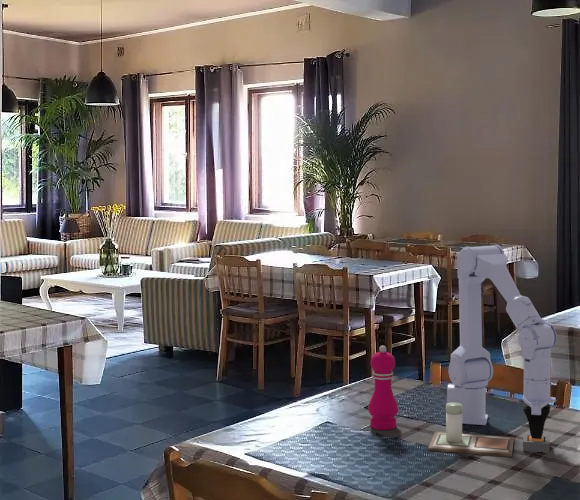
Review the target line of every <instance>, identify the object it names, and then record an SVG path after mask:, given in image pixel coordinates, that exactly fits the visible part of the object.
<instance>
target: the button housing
mask: <svg viewBox="0 0 580 500" xmlns="http://www.w3.org/2000/svg"><path fill="white" fill-rule="evenodd" d="M529 436H531V434H530V433H527V434H526V433H524V434H523V438H522V452H524V451H527V452H529V453H537V452H543V453H542V454H550V440H551V439H550V435H543V434H542V437H544V442H537V441H529Z"/></svg>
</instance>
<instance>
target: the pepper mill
mask: <svg viewBox="0 0 580 500" xmlns="http://www.w3.org/2000/svg"><path fill="white" fill-rule="evenodd" d="M369 364H370V366H371V368H372V370H373V371H372V378H373V379H374V390H373V394H372V395H371V397H370V400H369V403H368V413H369V415H370V416H371V418H370V424H369V425H370V427H371V428H372V429H375V430H379V431H388V430H389V431H390V430H393V429H395V428H396V427H397V418H395V417H396V415H397V414H398V413H399V405H398V402H397V399H396V398H395V395H394V393H393V392H394V391H393V389H392V379H393V378H394V372H393V370H394V368H395V366H396V360H395V356H394V355H393V354H392V353H391V352H389V351H387V347H386V346H385V345H380V346H379V348H378V352H375V353H374V354H373V355H372V356H371V359H370V363H369Z"/></svg>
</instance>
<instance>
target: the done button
mask: <svg viewBox="0 0 580 500" xmlns="http://www.w3.org/2000/svg"><path fill="white" fill-rule="evenodd" d="M529 441H537V442H544V437H542V438H541V439H535V438H531V436H529Z"/></svg>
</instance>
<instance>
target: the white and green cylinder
mask: <svg viewBox="0 0 580 500" xmlns="http://www.w3.org/2000/svg"><path fill="white" fill-rule="evenodd" d="M462 413H463V405H462V404H460V403H447V402H446V404H445V432H446V441H449V442H461V441H462V433H463V424H462Z"/></svg>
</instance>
